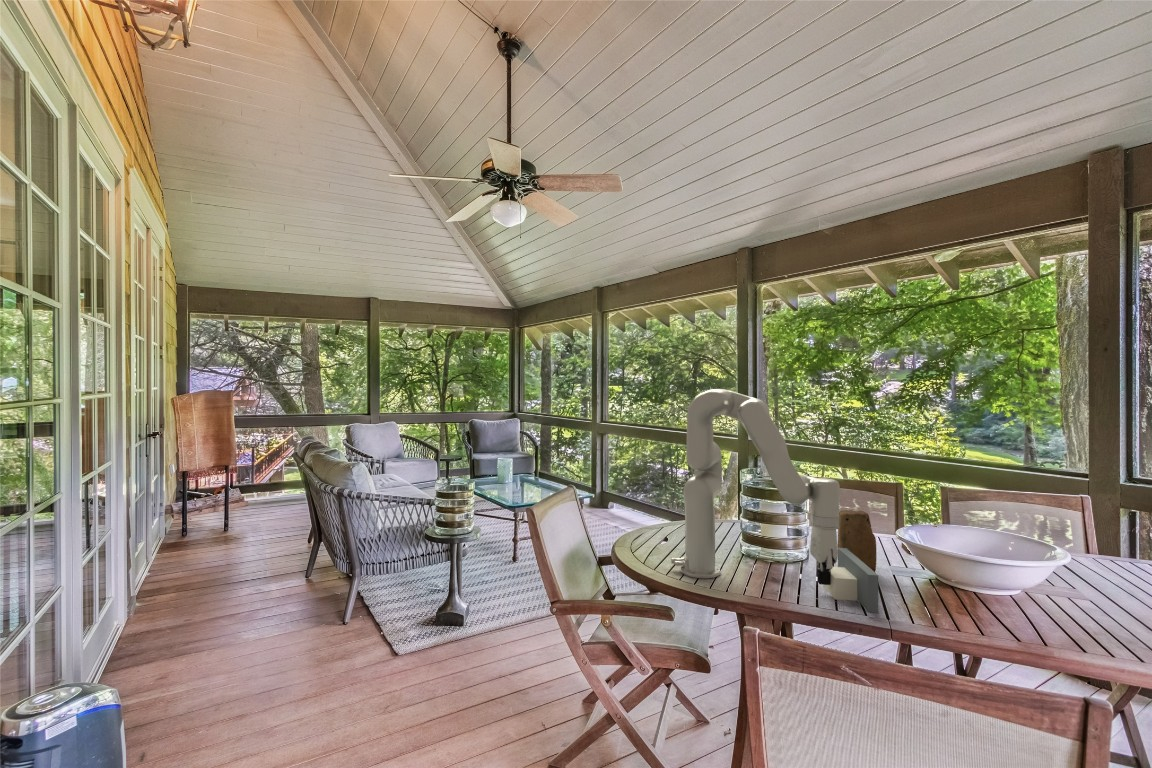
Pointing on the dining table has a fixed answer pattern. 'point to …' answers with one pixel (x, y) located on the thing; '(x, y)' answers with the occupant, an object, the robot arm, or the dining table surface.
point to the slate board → (861, 579)
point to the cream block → (842, 584)
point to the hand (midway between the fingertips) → (823, 583)
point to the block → (857, 536)
